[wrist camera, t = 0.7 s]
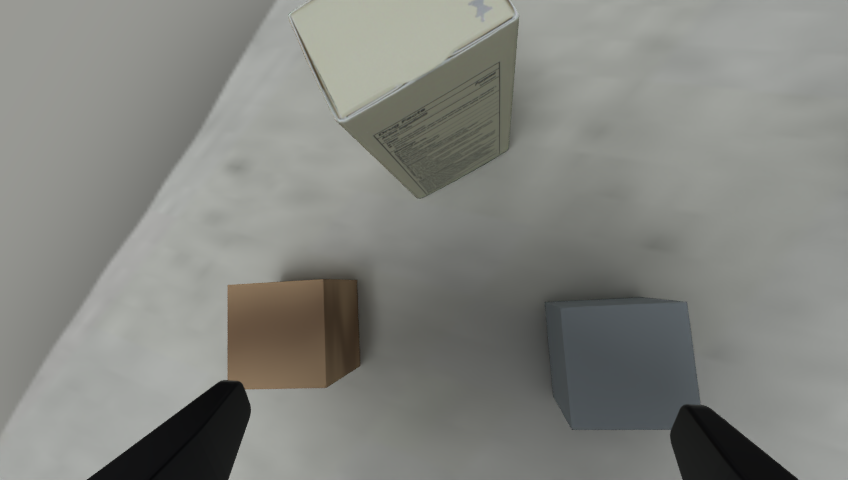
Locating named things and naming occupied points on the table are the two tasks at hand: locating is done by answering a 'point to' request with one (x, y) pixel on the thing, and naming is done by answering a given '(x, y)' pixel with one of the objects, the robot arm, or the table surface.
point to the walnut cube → (292, 333)
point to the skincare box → (416, 80)
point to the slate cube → (621, 362)
